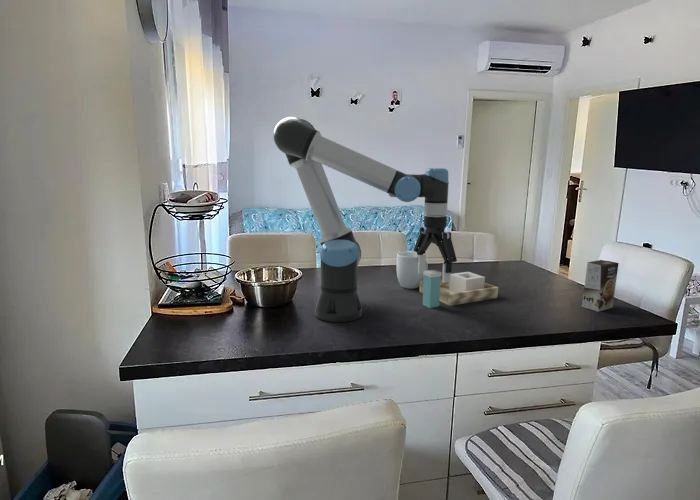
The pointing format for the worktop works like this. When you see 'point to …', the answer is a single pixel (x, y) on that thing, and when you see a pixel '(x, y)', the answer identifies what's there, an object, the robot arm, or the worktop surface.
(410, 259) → the mug
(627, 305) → the worktop surface
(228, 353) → the worktop surface
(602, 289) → the coffee box
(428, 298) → the plug
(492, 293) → the wooden tray
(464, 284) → the inlet
